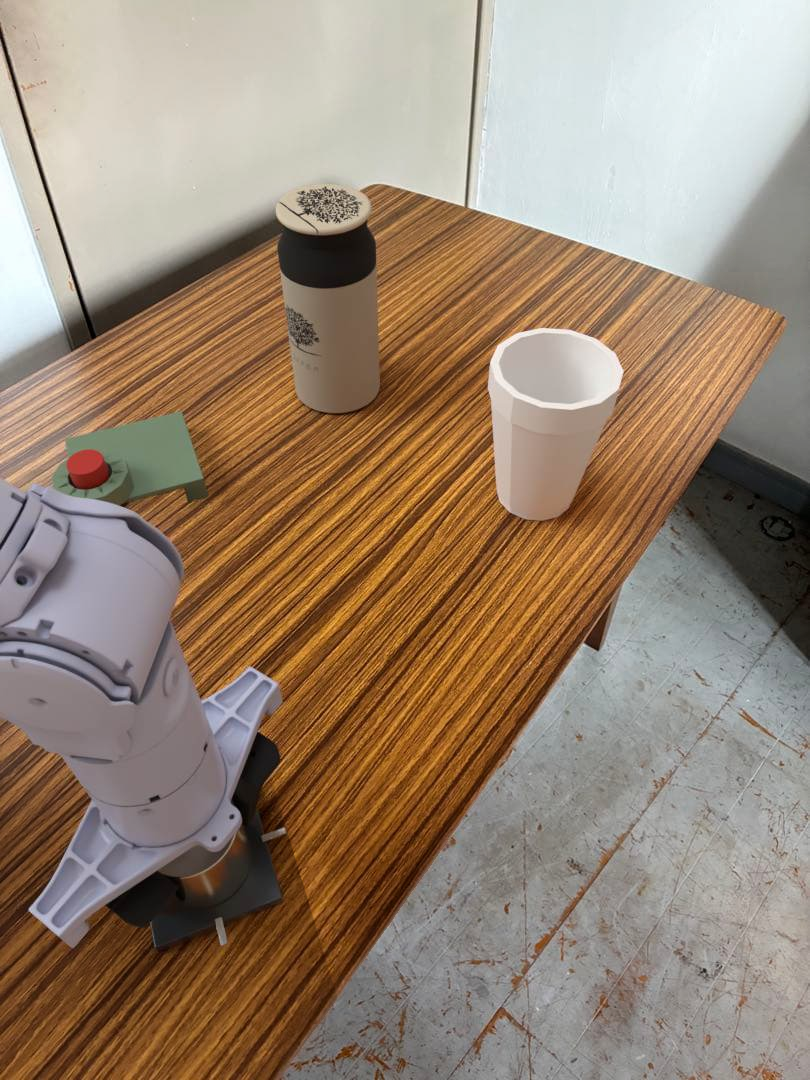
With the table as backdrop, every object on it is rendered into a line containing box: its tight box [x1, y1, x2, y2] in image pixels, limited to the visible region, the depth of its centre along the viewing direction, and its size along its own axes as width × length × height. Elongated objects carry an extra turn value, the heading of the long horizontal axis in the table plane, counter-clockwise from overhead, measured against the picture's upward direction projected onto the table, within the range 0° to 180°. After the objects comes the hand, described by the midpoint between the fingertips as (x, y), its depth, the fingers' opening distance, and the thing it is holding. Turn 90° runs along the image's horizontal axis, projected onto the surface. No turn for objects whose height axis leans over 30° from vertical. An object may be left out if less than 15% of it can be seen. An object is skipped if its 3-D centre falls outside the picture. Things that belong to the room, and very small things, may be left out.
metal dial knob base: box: [149, 806, 287, 952], centre depth 47 cm, size 9×9×3 cm
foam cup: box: [487, 327, 625, 522], centre depth 63 cm, size 10×9×13 cm
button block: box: [51, 410, 209, 506], centre depth 67 cm, size 11×10×4 cm
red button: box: [66, 449, 109, 490], centre depth 64 cm, size 3×3×2 cm
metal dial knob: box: [157, 799, 251, 909], centre depth 44 cm, size 5×5×5 cm
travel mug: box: [275, 183, 381, 414], centre depth 70 cm, size 8×8×18 cm
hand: (201, 855), depth 45 cm, fingers closed on metal dial knob, 5 cm apart
